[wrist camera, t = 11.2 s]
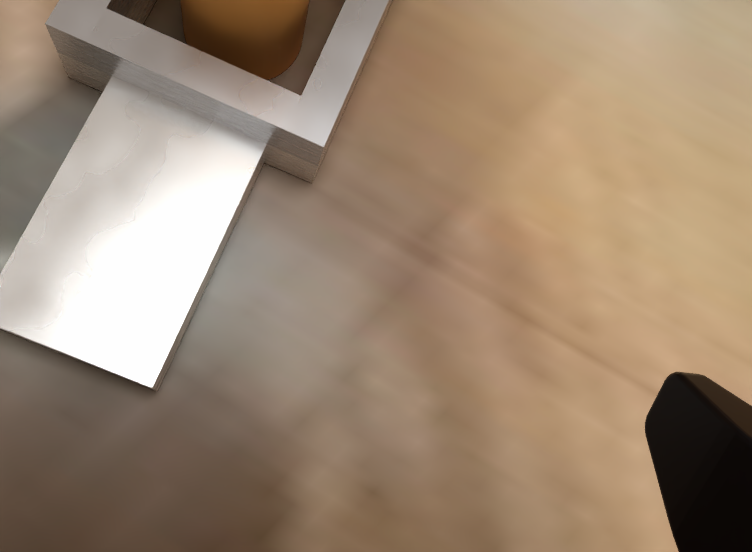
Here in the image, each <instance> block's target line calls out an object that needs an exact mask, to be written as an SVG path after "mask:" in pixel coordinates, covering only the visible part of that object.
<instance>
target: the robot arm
mask: <svg viewBox="0 0 752 552" xmlns="http://www.w3.org/2000/svg"><path fill="white" fill-rule="evenodd" d="M645 433H646V438H647V442H648V446H649V449H650V453H651V457H652V460H653V464H654V468H655V472H656V475H657V479H658V483H659V487H660V490H661V494H662V498H663V502H664V505H665V509H666V513H667V517H668V520H669V523H670V527H671V530H672V533H673V537H674V539H675V542H676V545H677V548H678V551H679V552H752V406H751V405H749V404H748V403H746V402H744V401H743V400H741V399H740V398H738V397H737V396H735V395H734V394H732V393H731V392H729V391H727V390H726V389H724V388H723V387H721V386H720V385H718V384H717V383H715V382H714V381H712V380H711V379H709V378H707V377H706V376H704V375H700V374H693V373H684V372H674V373H672V374H670V375H669V376H668V377H667V378H666V380H665V381H664V383H663V385H662V387H661V389H660V391H659V393H658V395H657V397H656V399H655V401H654V403H653V405H652V407H651V409H650V411H649V413H648V415H647V417H646V422H645Z"/></svg>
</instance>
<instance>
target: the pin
mask: <svg viewBox="0 0 752 552" xmlns="http://www.w3.org/2000/svg"><path fill="white" fill-rule="evenodd" d="M309 1H310V0H181V10H182V19H183V28H184V35H185V39H186V42H187V45H189V46H191V47H193V48H196V49H198V50H200V51H202V52H205V53H207V54H209V55H211V56H213V57H216V58H218V59H220V60H222V61H225V62H227V63H229V64H231V65H234V66H236V67H238V68H240V69H242V70H245V71H247V72H249V73H251V74H254V75H256V76H258V77H260V78H262V79H265V80H269V79H271V78H274V77H276V76H278V75H279V74H281V73H283V72H284V71H285V70H286V69H288V68H289V67H290V66H291V64H292V63H293V62H294V60H295V59H296V57H297V55H298V54H299V51H300V48H301V45H302V39H303V34H304V28H305V23H306V17H307V12H308V6H309Z"/></svg>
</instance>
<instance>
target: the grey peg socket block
mask: <svg viewBox="0 0 752 552" xmlns="http://www.w3.org/2000/svg"><path fill="white" fill-rule="evenodd" d="M392 1H393V0H346V1H345V3H344V5H343V7H342V9H341V11H340V14H339V16H338V18H337V20H336V22H335V24H334V26H333V29H332V31H331V33H330V35H329V37H328V39H327V42H326V44H325V46H324V48H323V50H322V52H321V54H320V57H319V59H318V61H317V63H316V65H315V67H314V70H313V72H312V74H311V76H310V78H309V80H308V82H307V85H306V87H305V89H304V91H303V93H302V95H301V96H300V95H298V94H296V93H294V92H291V91H289V90H287V89H285V88H283V87H280V86H278V85H276V84H274V83H271V82H269V81H267V80H265V79H262V78H260V77H258V76H256V75H254V74H251V73H249V72H247V71H245V70H242V69H240V68H238V67H236V66H234V65H231V64H229V63H227V62H225V61H222V60H220V59H218V58H216V57H213V56H211V55H209V54H207V53H205V52H202V51H200V50H198V49H196V48H193V47H191V46H189V45H187V44H185V43H182V42H180V41H178V40H176V39H173V38H171V37H169V36H167V35H164V34H162V33H160V32H158V31H156V30H153V29H151V28H149V27H147V26H144V25H143V23H144V22H145V20H146V18H147V16H148V15H149V13H150V11H151V9H152V7H153V6H154V4H155V2H156V0H59V2H58V3H57V5H56V7H55V8H54V10H53V12H52V13H51V15H50V17H49V18H48V20H47V21H46V23H45V24H46V27H47V29H48V31H49V34H50V36H51V38H52V40H53V43H54V45H55V47H56V50H57V52H58V54H59V56H60V59H61V61H62V63H63V65H64V68H65V70H66V72H67V75H68V77H69V78H72V79H74V80H76V81H79V82H81V83H83V84H85V85H88V86H90V87H92V88H95V89H97V90H99V91H102V92H103V93H102V95H101V96H100V98H99V100H98V102H97V103H96V105H95V107H94V109H93V111H92V112H91V114H90V116H89V118H88V119H87V121H86V123H85V125H84V127H83V128H82V130H81V132H80V134H79V135H78V137H77V139H76V141H75V143H74V144H73V146H72V148H71V150H70V151H69V153H68V155H67V157H66V159H65V160H64V162H63V164H62V166H61V167H60V169H59V171H58V173H57V174H56V176H55V178H54V180H53V182H52V183H51V185H50V187H49V189H48V190H47V192H46V194H45V196H44V198H43V199H42V201H41V203H40V205H39V206H38V208H37V210H36V212H35V214H34V215H33V217H32V219H31V221H30V222H29V224H28V226H27V228H26V230H25V231H24V233H23V235H22V237H21V238H20V240H19V242H18V244H17V246H16V247H15V249H14V251H13V253H12V254H11V256H10V258H9V260H8V261H7V263H6V265H5V267H4V269H3V270H2V272H1V274H0V329H1V330H3V331H6V332H8V333H11V334H13V335H16V336H18V337H21V338H23V339H26V340H28V341H31V342H34V343H36V344H39V345H41V346H44V347H46V348H49V349H51V350H54V351H56V352H59V353H61V354H64V355H66V356H69V357H71V358H74V359H76V360H79V361H82V362H84V363H87V364H89V365H92V366H94V367H97V368H99V369H102V370H104V371H107V372H109V373H112V374H114V375H117V376H119V377H122V378H125V379H127V380H130V381H132V382H135V383H137V384H140V385H142V386H145V387H147V388H150V389H152V390H155V391H158V389H159V387H160V385H161V383H162V381H163V378H164V376H165V374H166V372H167V370H168V368H169V366H170V363H171V361H172V359H173V357H174V355H175V353H176V351H177V348H178V346H179V344H180V342H181V340H182V338H183V336H184V333H185V331H186V329H187V327H188V325H189V323H190V321H191V318H192V316H193V314H194V312H195V310H196V308H197V306H198V303H199V301H200V299H201V297H202V295H203V293H204V291H205V288H206V286H207V284H208V282H209V280H210V278H211V276H212V274H213V271H214V269H215V267H216V265H217V263H218V261H219V259H220V256H221V254H222V252H223V250H224V248H225V246H226V244H227V241H228V239H229V237H230V235H231V233H232V231H233V229H234V226H235V224H236V222H237V220H238V218H239V216H240V214H241V211H242V209H243V207H244V205H245V203H246V201H247V199H248V196H249V194H250V192H251V190H252V188H253V186H254V184H255V181H256V179H257V177H258V175H259V173H260V171H261V169H262V166H263V164H264V163H266V164H269V165H271V166H273V167H276V168H278V169H280V170H283V171H285V172H287V173H289V174H292V175H294V176H296V177H299V178H301V179H303V180H305V181H308V182H310V183H313V180H314V178H315V176H316V174H317V171H318V169H319V167H320V165H321V162H322V160H323V158H324V155H325V153H326V151H327V149H328V146H329V144H330V142H331V140H332V137H333V135H334V133H335V130H336V128H337V126H338V124H339V121H340V119H341V117H342V114H343V112H344V110H345V108H346V105H347V103H348V101H349V99H350V96H351V94H352V92H353V89H354V87H355V85H356V83H357V80H358V78H359V76H360V74H361V71H362V69H363V67H364V64H365V62H366V60H367V58H368V55H369V53H370V51H371V49H372V46H373V44H374V42H375V39H376V37H377V35H378V33H379V30H380V28H381V26H382V24H383V21H384V19H385V17H386V14H387V12H388V10H389V8H390V5H391V3H392Z"/></svg>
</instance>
